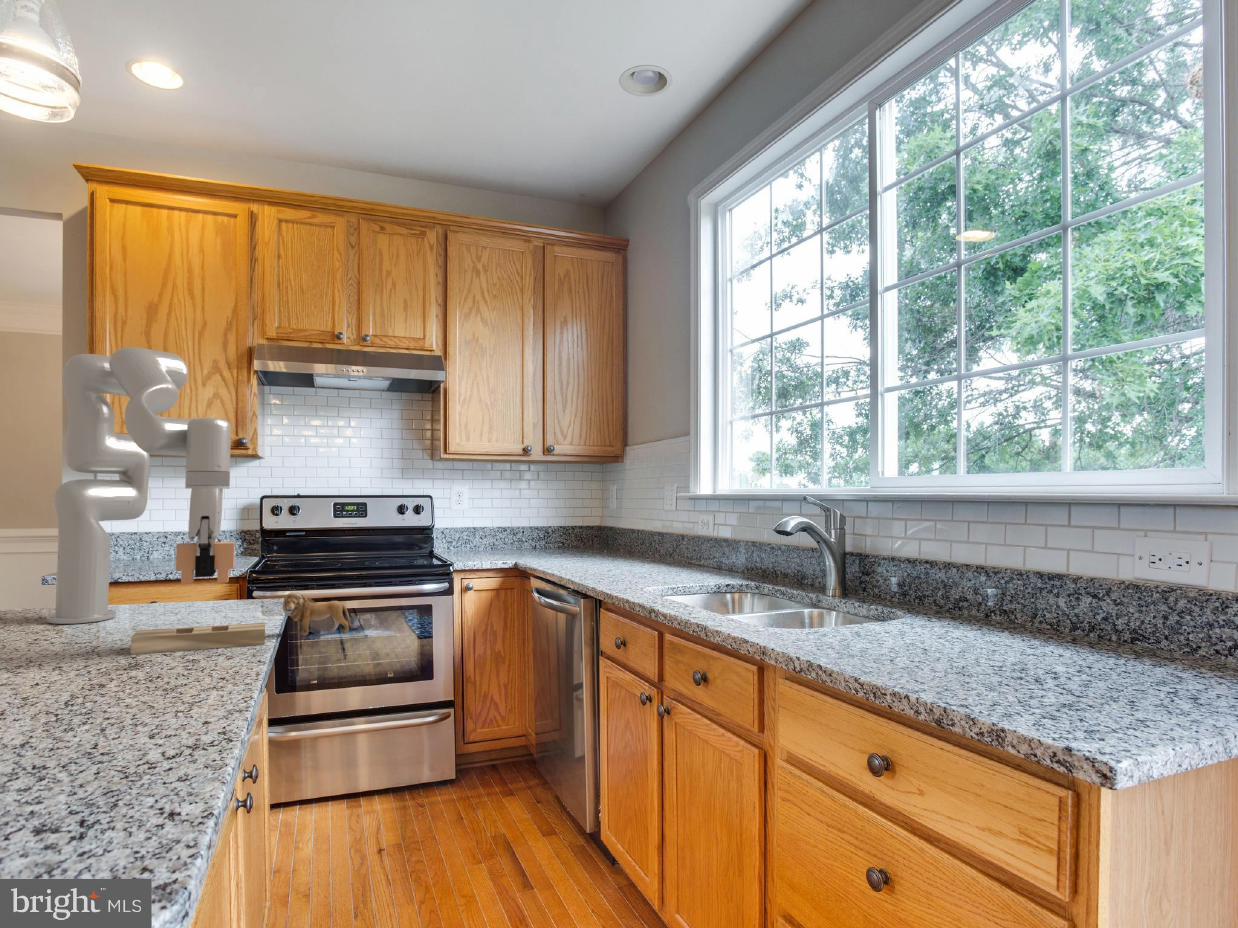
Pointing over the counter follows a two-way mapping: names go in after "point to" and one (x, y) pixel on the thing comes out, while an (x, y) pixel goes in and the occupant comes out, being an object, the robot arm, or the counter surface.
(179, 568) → the clip
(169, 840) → the counter surface
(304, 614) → the lion figurine
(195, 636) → the rail
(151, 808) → the counter surface
